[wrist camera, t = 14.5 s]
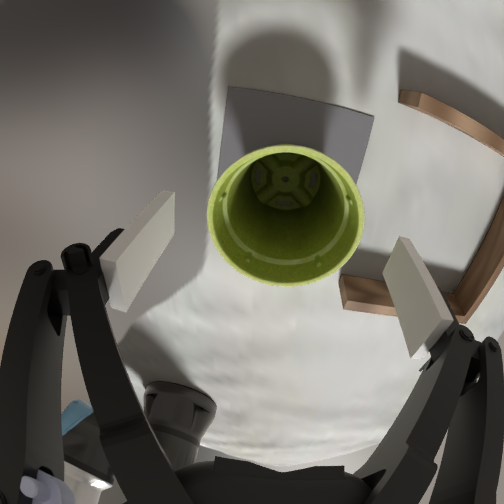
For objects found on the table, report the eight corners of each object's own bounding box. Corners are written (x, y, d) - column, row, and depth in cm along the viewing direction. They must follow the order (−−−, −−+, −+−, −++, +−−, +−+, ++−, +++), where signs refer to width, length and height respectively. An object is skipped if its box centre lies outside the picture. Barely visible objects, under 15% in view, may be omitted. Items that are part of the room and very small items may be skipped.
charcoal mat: (212, 233, 27) (212, 233, 27) (228, 86, 19) (228, 86, 19) (331, 255, 27) (332, 256, 27) (374, 117, 19) (374, 117, 19)
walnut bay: (338, 282, 29) (343, 309, 26) (401, 89, 17) (421, 92, 14) (454, 301, 29) (465, 323, 26) (523, 158, 17) (545, 172, 14)
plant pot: (344, 127, 20) (375, 152, 13) (335, 227, 25) (351, 289, 18) (229, 124, 21) (198, 146, 14) (235, 224, 26) (215, 283, 19)
